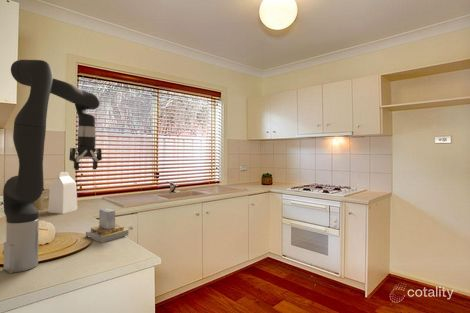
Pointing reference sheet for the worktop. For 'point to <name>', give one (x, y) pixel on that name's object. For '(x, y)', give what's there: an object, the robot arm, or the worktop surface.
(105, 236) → the dock
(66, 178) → the milk
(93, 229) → the pallet
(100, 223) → the medicine box
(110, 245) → the worktop surface
